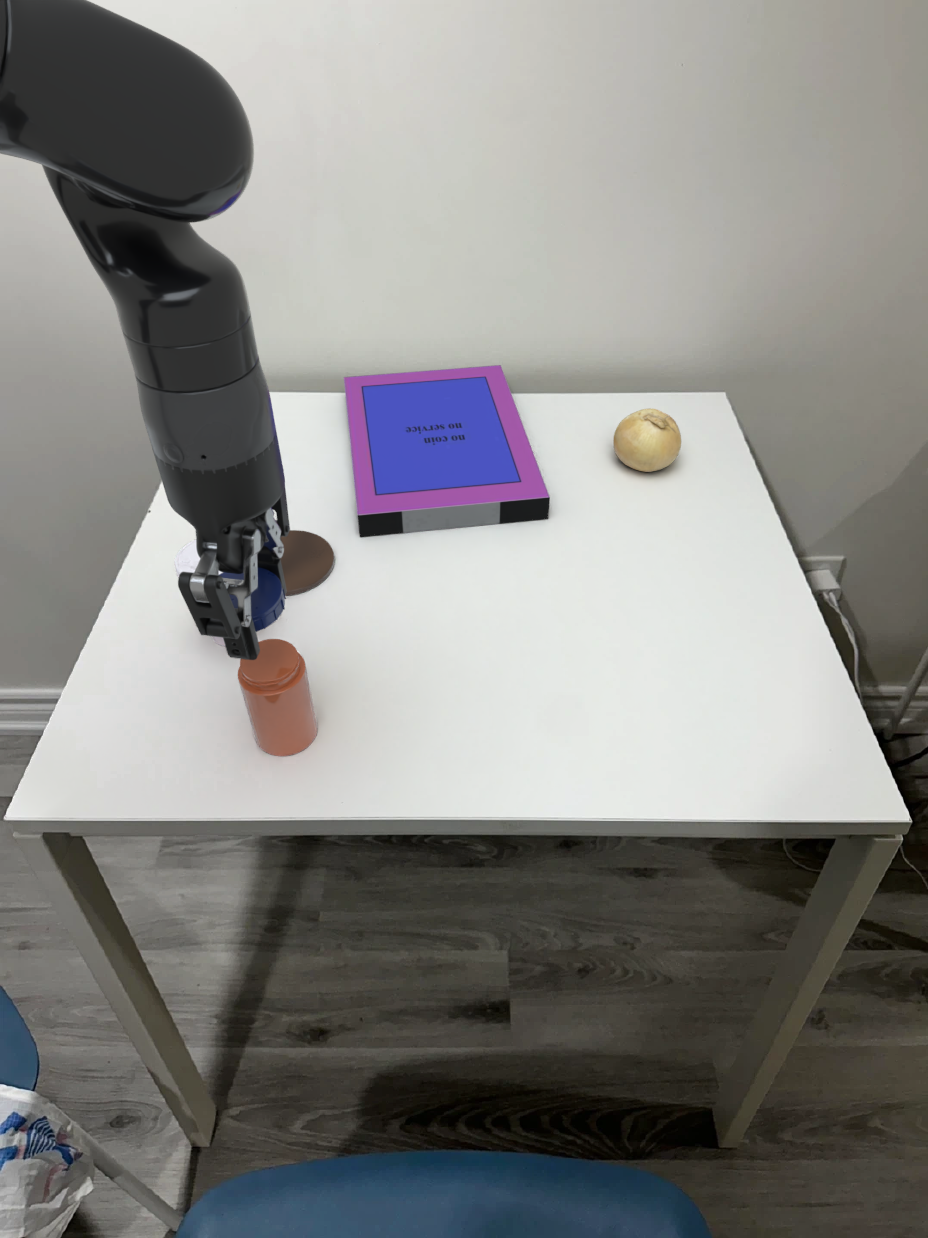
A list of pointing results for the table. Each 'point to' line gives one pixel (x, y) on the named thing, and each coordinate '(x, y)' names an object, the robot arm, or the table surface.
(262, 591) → the jar lid
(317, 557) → the coaster
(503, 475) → the book
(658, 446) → the onion
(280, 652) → the jar
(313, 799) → the table surface
